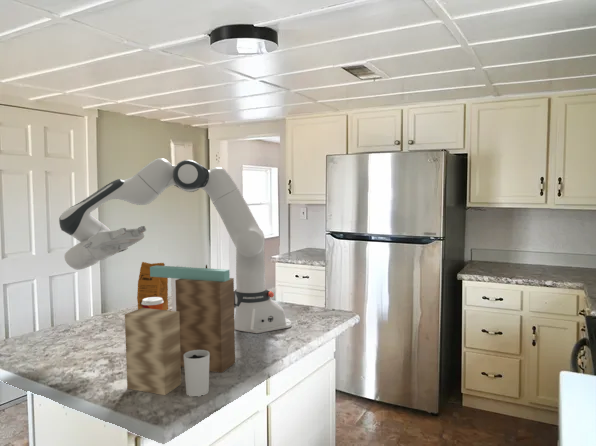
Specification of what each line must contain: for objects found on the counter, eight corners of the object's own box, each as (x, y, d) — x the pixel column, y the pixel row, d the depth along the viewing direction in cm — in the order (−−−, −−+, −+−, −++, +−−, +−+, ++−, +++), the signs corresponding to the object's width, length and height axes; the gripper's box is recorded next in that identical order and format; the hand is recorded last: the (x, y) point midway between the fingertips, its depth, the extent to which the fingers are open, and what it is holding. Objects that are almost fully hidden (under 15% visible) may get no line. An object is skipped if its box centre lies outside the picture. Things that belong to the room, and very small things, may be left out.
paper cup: (158, 341, 158) (156, 301, 157) (138, 340, 160) (136, 301, 159) (168, 334, 166) (167, 296, 165) (149, 333, 167) (148, 296, 166)
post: (177, 366, 135) (175, 280, 133) (192, 357, 143) (190, 275, 141) (221, 372, 130) (220, 283, 128) (235, 362, 138) (233, 278, 136)
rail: (150, 276, 140) (149, 266, 139) (156, 274, 142) (156, 265, 142) (224, 281, 131) (224, 271, 130) (229, 279, 133) (229, 269, 133)
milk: (183, 316, 190) (182, 264, 188) (193, 319, 186) (192, 265, 185) (171, 320, 185) (170, 266, 184) (181, 322, 181) (180, 267, 180)
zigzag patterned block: (127, 388, 120) (124, 314, 119) (144, 378, 127) (142, 307, 125) (165, 395, 116) (162, 318, 115) (181, 384, 122) (179, 311, 121)
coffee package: (147, 308, 203) (146, 260, 202) (171, 310, 200) (170, 261, 198) (133, 314, 194) (131, 263, 193) (158, 316, 190) (156, 264, 189)
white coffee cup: (179, 395, 116) (178, 357, 115) (193, 384, 122) (193, 348, 121) (201, 399, 114) (200, 360, 113) (215, 388, 120) (214, 351, 119)
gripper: (76, 238, 144) (108, 222, 139) (122, 233, 163) (151, 218, 158) (83, 257, 143) (115, 241, 138) (128, 249, 162) (157, 235, 158)
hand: (134, 229), depth 148 cm, fingers open, 8 cm apart
